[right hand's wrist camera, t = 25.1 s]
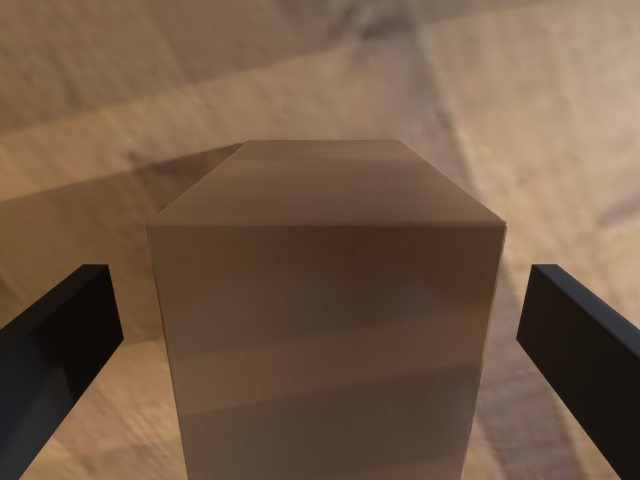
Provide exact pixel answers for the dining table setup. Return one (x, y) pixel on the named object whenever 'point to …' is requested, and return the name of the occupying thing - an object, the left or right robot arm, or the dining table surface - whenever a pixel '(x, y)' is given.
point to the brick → (325, 313)
